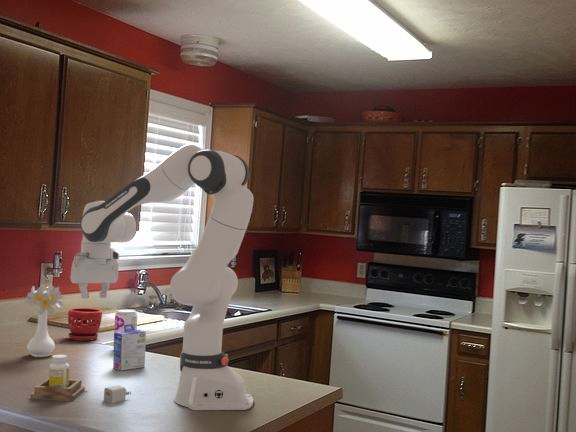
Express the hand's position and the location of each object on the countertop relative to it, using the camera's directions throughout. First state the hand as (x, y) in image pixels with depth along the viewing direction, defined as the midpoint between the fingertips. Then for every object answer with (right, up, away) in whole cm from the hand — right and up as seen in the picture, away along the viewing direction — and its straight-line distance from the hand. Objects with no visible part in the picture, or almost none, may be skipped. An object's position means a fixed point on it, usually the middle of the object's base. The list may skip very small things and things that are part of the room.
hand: (94, 298), depth 212 cm
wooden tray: (-5, -25, -17) cm, 31 cm away
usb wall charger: (+12, -27, -19) cm, 35 cm away
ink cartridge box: (+6, -26, +21) cm, 34 cm away
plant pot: (-23, -25, +66) cm, 74 cm away
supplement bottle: (-5, -24, -17) cm, 30 cm away
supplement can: (-2, -26, +48) cm, 55 cm away
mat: (-5, -26, -17) cm, 31 cm away
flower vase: (-27, -25, +32) cm, 48 cm away
